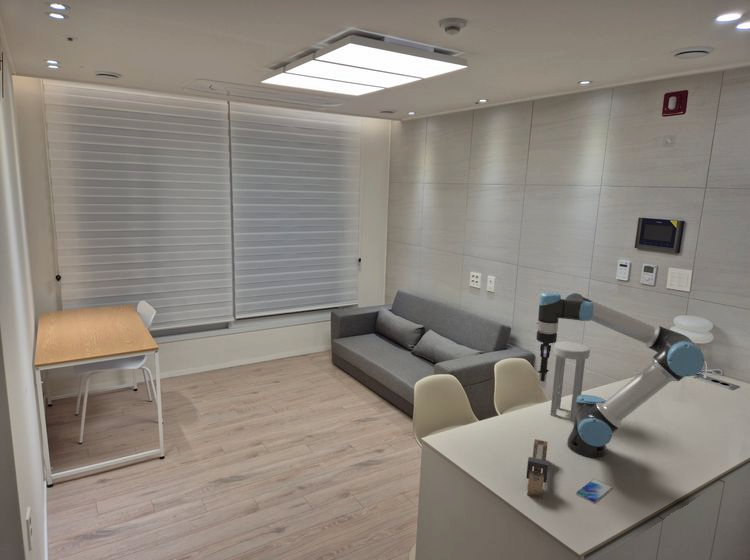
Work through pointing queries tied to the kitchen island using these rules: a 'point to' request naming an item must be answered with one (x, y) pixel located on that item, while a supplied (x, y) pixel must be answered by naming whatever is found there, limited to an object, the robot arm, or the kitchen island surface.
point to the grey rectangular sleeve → (537, 463)
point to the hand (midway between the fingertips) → (541, 387)
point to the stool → (562, 352)
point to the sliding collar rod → (537, 470)
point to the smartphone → (594, 490)
